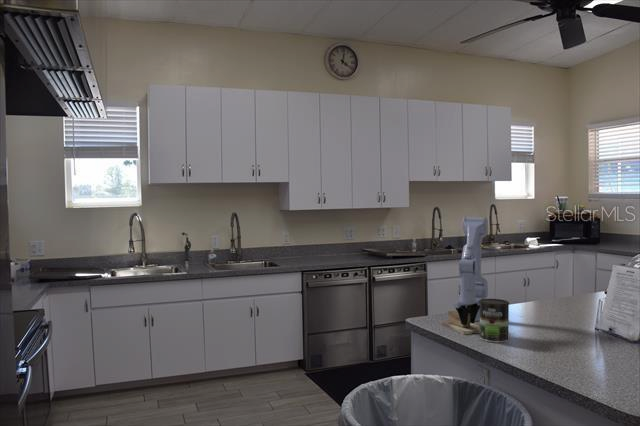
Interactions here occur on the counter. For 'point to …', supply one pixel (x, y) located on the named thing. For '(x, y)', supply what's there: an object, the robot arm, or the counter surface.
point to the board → (466, 330)
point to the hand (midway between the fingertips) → (467, 323)
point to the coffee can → (494, 320)
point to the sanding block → (457, 319)
